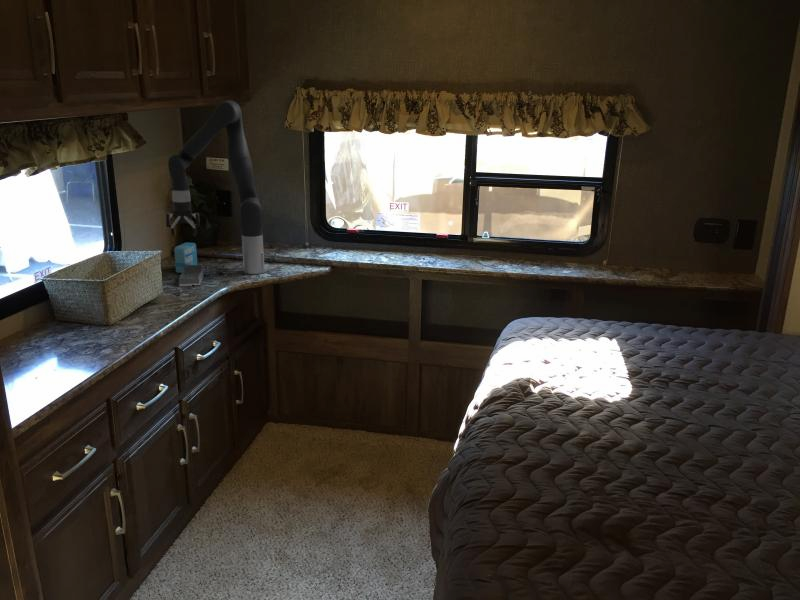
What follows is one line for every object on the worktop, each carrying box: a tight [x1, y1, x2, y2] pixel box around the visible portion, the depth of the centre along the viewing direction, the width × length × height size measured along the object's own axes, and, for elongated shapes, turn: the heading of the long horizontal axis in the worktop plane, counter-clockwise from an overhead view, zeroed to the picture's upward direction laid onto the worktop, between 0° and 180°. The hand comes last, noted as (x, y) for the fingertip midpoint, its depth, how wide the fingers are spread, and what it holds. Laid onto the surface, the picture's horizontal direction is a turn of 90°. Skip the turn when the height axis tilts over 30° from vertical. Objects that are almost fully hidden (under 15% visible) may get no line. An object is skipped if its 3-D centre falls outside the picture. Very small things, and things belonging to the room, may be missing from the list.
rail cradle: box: [178, 264, 204, 287], centre depth 293 cm, size 8×16×5 cm, turn 10°
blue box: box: [173, 242, 198, 274], centre depth 307 cm, size 12×4×12 cm, turn 169°
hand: (184, 236), depth 304 cm, fingers open, 8 cm apart
